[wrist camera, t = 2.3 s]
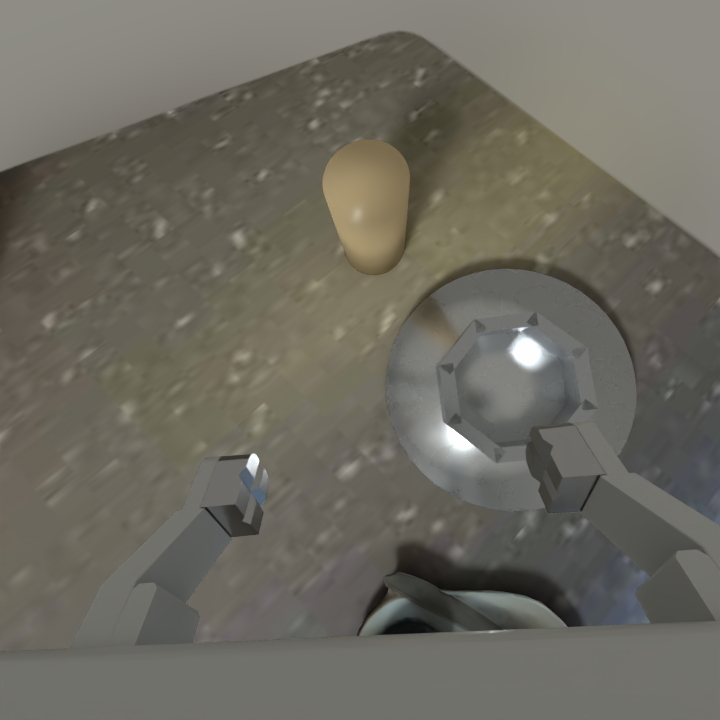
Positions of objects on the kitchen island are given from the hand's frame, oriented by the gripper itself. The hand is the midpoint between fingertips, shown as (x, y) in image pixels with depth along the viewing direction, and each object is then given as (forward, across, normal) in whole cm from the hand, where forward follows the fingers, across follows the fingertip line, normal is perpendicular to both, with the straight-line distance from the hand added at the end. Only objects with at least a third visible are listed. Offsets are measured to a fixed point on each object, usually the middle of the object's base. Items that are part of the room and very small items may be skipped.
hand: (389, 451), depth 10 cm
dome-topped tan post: (+22, 0, +2) cm, 22 cm away
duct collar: (+13, -9, +11) cm, 19 cm away
